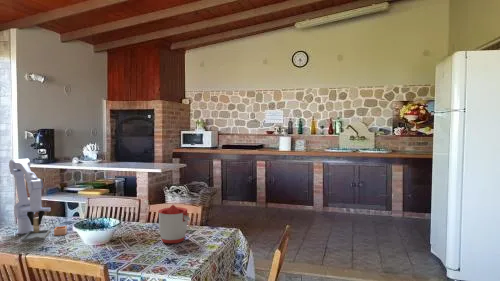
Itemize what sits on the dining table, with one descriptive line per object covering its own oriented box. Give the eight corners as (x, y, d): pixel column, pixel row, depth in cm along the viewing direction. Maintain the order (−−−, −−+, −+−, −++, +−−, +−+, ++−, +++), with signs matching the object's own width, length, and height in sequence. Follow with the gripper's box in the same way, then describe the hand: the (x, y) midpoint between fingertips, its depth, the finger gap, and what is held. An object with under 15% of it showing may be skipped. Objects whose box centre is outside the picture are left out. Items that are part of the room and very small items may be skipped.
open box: (56, 233, 212) (56, 226, 212) (67, 232, 214) (67, 225, 214) (54, 236, 207) (54, 229, 207) (65, 235, 209) (65, 228, 208)
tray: (29, 234, 211) (29, 231, 211) (50, 232, 214) (50, 229, 214) (21, 242, 196) (21, 239, 195) (44, 240, 199) (44, 237, 199)
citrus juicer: (184, 246, 190) (183, 208, 189) (153, 244, 193) (153, 207, 192) (194, 237, 205) (194, 202, 204) (166, 235, 208) (165, 201, 208)
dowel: (34, 231, 206) (33, 217, 205) (40, 231, 207) (39, 217, 206) (32, 233, 203) (32, 219, 202) (38, 232, 204) (38, 218, 203)
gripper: (18, 203, 198) (19, 227, 199) (48, 201, 202) (49, 225, 203) (22, 200, 205) (23, 224, 205) (51, 199, 209) (51, 222, 210)
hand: (36, 224), depth 205 cm, fingers closed on dowel, 3 cm apart
